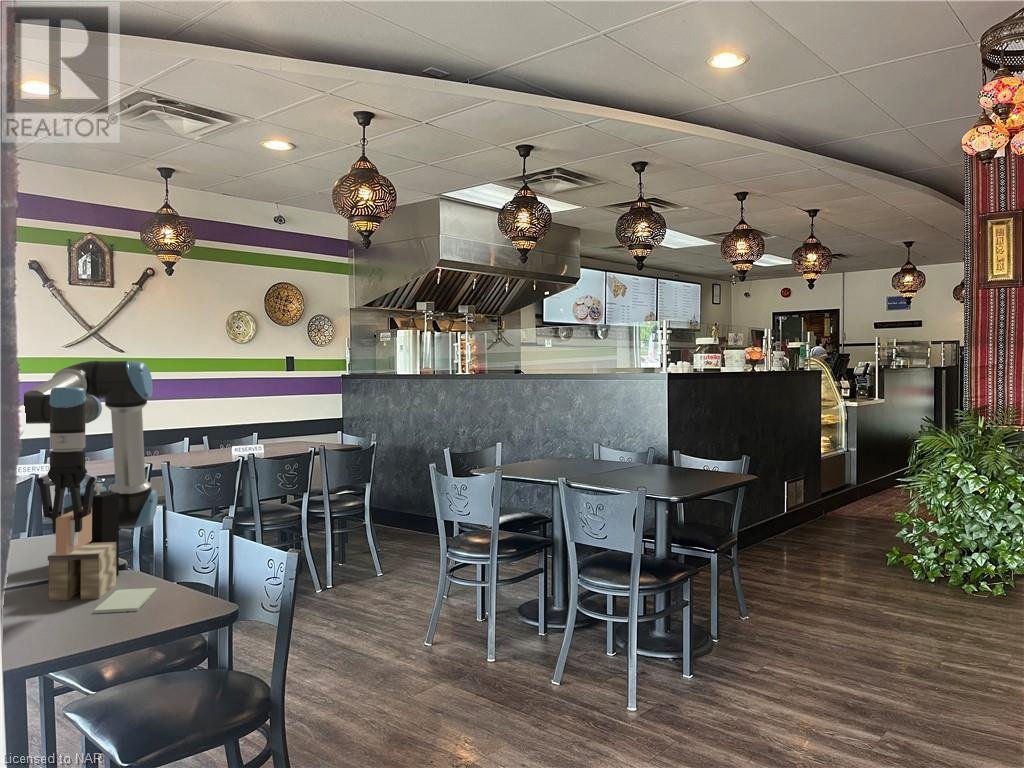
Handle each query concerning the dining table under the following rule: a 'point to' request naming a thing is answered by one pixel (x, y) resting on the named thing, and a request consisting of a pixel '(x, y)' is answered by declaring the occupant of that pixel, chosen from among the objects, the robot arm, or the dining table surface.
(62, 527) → the tan rectangular slab
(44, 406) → the robot arm
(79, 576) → the brown boxy piece
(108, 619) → the dining table surface
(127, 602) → the mat
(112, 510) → the black tall rectangular block
